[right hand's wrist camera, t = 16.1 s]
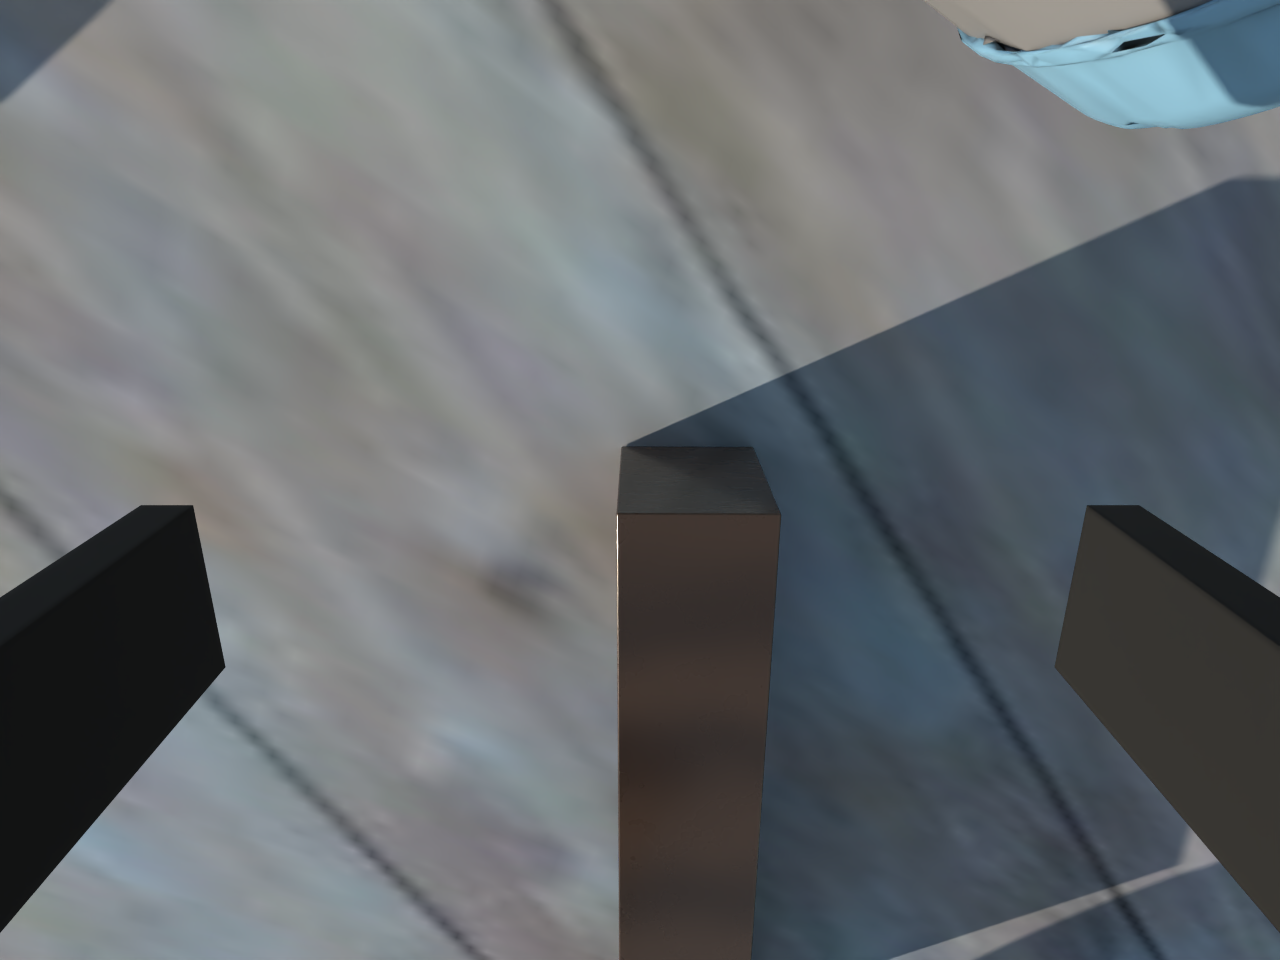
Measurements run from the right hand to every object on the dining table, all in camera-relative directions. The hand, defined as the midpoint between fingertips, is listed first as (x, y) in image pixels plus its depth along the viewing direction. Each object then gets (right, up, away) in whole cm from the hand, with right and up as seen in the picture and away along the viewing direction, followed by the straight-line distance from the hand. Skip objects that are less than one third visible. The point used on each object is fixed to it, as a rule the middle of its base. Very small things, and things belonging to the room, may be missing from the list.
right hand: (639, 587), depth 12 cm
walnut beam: (+2, -14, +31) cm, 34 cm away
